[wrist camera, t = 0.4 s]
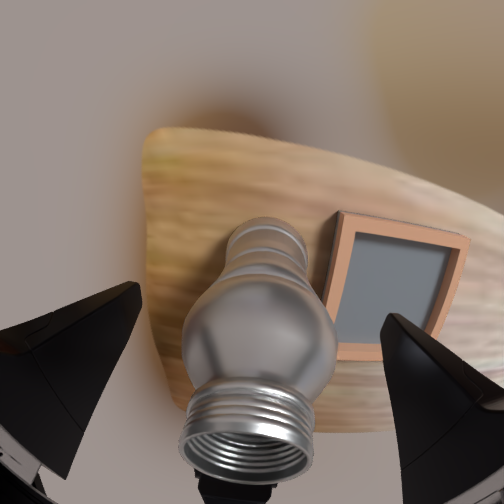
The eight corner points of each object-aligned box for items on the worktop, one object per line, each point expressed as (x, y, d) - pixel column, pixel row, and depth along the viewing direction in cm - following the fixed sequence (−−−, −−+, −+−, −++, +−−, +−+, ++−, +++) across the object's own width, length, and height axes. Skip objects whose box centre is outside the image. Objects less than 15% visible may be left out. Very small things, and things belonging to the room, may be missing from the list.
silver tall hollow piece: (249, 199, 23) (144, 332, 4) (317, 233, 24) (418, 423, 5) (219, 261, 25) (116, 453, 6) (284, 292, 26) (289, 505, 7)
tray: (420, 347, 27) (427, 358, 24) (309, 345, 27) (311, 358, 25) (458, 233, 22) (470, 239, 20) (338, 210, 23) (344, 214, 21)
